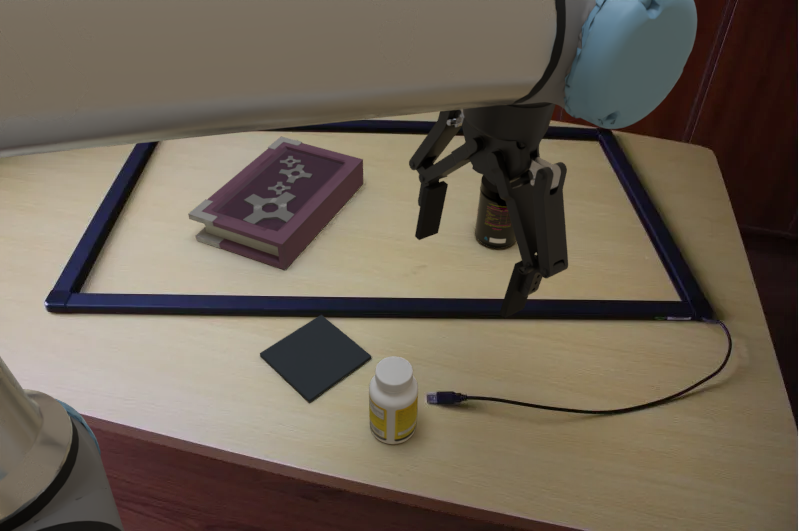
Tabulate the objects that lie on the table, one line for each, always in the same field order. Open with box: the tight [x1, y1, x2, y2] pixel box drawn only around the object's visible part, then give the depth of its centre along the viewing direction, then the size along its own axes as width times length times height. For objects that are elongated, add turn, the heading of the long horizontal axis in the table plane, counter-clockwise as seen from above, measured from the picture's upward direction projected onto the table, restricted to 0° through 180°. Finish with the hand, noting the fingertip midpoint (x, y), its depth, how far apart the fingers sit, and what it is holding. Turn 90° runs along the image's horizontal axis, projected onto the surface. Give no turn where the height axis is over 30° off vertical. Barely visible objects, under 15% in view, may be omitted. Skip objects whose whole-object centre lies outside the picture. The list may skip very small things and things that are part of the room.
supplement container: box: [474, 175, 521, 250], centre depth 97 cm, size 7×7×10 cm
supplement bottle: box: [368, 355, 419, 445], centre depth 71 cm, size 5×5×10 cm
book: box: [187, 136, 364, 271], centre depth 103 cm, size 25×16×5 cm, turn 156°
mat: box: [259, 314, 372, 404], centre depth 81 cm, size 10×10×1 cm
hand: (466, 271), depth 67 cm, fingers open, 13 cm apart
